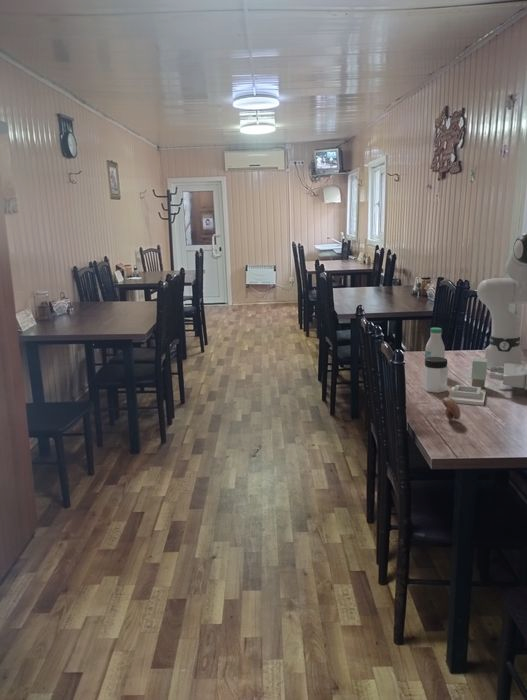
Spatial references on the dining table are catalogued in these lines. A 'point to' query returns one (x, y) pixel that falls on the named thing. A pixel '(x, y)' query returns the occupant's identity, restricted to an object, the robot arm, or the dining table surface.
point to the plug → (479, 372)
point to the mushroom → (451, 408)
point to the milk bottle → (435, 344)
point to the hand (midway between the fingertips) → (490, 372)
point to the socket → (468, 395)
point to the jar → (435, 374)
